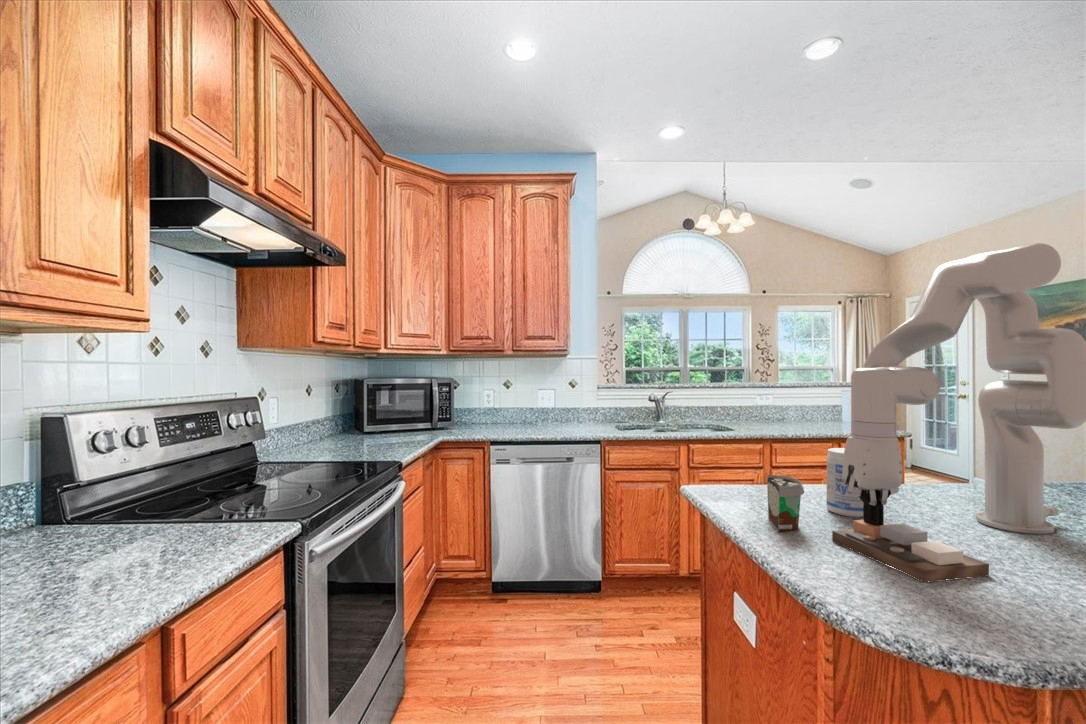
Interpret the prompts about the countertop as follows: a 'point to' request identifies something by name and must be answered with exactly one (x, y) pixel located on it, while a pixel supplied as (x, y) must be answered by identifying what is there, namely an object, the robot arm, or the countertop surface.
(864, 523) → the terracotta key
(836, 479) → the supplement tub
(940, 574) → the keypad board
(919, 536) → the grey key
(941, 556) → the cream key
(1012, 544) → the countertop surface
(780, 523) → the food container
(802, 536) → the countertop surface
